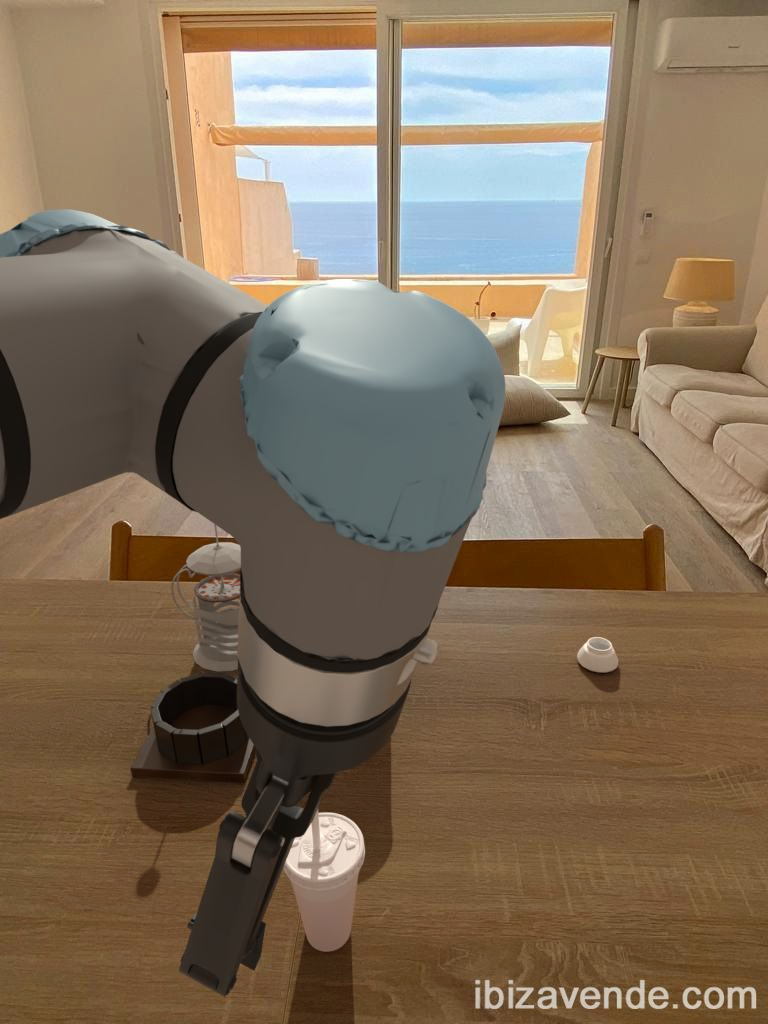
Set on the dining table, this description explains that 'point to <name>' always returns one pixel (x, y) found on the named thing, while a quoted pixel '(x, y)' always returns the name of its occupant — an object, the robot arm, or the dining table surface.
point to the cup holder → (196, 732)
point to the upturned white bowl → (598, 655)
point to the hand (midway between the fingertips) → (292, 840)
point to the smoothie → (326, 878)
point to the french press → (218, 587)
